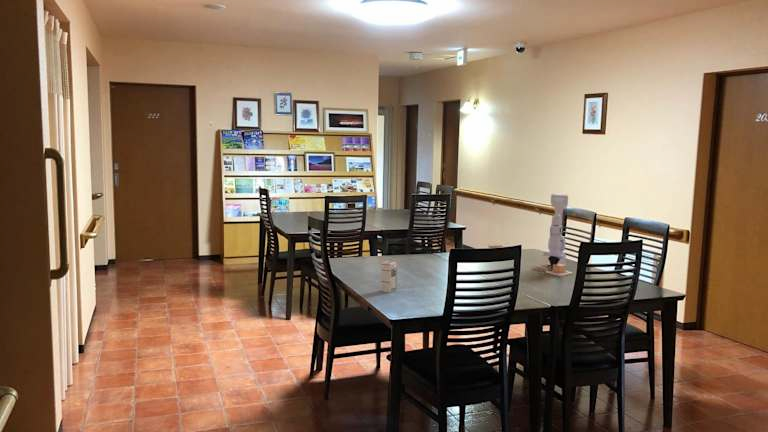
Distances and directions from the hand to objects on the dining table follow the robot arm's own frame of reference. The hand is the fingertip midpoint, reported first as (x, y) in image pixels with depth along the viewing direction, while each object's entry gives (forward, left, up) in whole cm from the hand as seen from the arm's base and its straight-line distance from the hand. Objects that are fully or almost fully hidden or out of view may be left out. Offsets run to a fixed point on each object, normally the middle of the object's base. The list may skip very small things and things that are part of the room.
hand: (553, 269), depth 365 cm
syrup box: (+111, -9, -2) cm, 111 cm away
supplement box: (+19, -28, -2) cm, 34 cm away
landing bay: (0, +4, -2) cm, 4 cm away
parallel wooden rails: (0, -6, -2) cm, 7 cm away
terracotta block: (0, +4, -2) cm, 4 cm away
